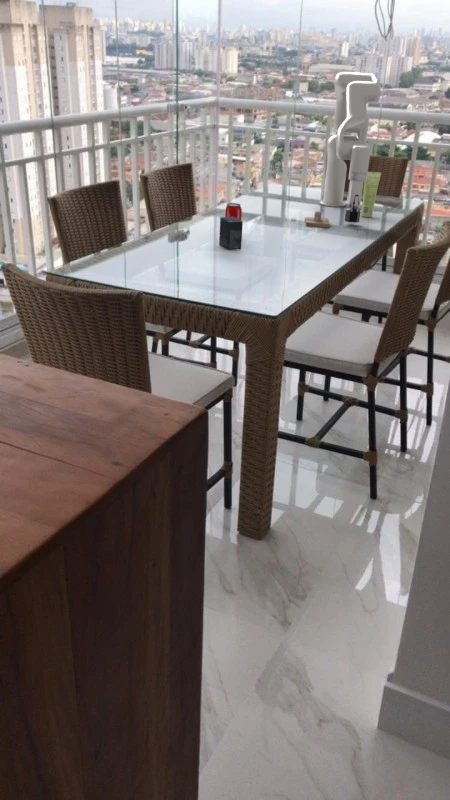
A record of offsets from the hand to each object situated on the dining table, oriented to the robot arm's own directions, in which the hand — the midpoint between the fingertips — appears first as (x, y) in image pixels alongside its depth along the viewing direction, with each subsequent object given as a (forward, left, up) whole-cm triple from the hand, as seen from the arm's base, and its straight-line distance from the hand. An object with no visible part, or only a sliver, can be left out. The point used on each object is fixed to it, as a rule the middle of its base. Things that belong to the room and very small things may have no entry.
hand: (352, 218), depth 301 cm
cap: (0, 0, -1) cm, 1 cm away
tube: (-19, +9, -3) cm, 22 cm away
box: (+48, -50, -3) cm, 69 cm away
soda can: (+30, -50, -3) cm, 58 cm away
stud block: (+2, -15, -3) cm, 15 cm away
